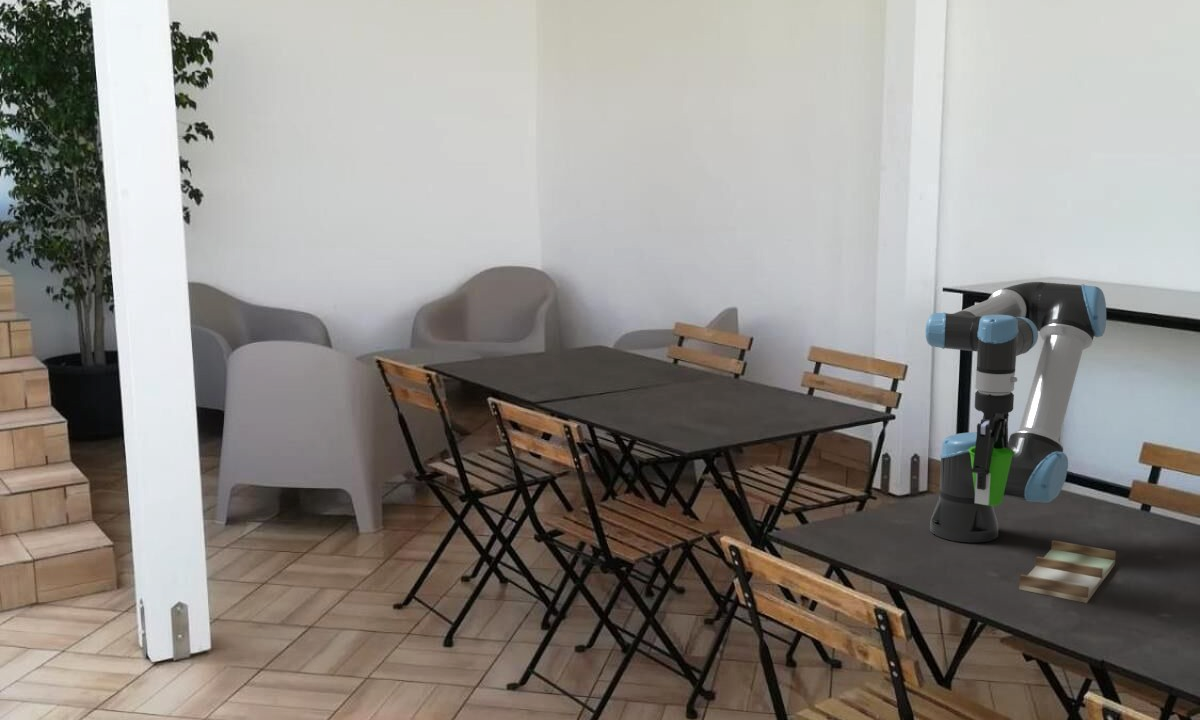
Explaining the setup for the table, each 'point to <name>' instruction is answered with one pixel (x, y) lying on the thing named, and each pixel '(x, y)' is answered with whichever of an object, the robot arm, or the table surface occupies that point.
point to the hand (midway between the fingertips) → (988, 497)
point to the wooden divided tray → (1069, 571)
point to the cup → (996, 473)
